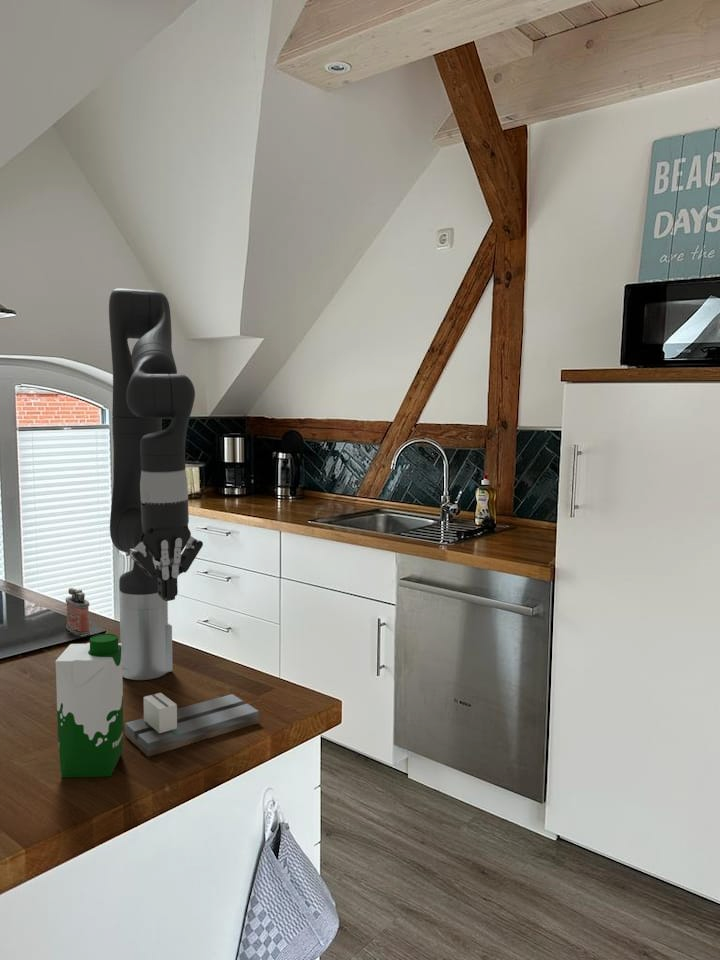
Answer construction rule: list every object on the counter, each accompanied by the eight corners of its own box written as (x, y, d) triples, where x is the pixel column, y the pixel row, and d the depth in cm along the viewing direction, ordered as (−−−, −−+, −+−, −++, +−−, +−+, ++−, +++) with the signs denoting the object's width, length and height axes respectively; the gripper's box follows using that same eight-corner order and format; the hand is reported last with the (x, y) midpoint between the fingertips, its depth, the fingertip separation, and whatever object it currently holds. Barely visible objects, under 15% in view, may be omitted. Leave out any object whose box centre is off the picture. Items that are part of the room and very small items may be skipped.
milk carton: (115, 779, 111) (113, 647, 108) (51, 781, 110) (48, 648, 108) (128, 751, 120) (126, 628, 117) (69, 752, 119) (66, 628, 116)
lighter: (93, 634, 175) (92, 592, 174) (79, 637, 173) (78, 594, 171) (76, 626, 180) (75, 585, 179) (63, 629, 178) (61, 587, 177)
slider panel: (232, 705, 137) (232, 693, 137) (258, 723, 130) (258, 710, 130) (125, 735, 125) (125, 722, 125) (148, 756, 118) (147, 742, 118)
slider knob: (161, 722, 127) (160, 692, 126) (177, 735, 122) (176, 704, 122) (144, 727, 125) (143, 696, 125) (159, 740, 121) (159, 708, 120)
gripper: (189, 490, 131) (192, 587, 133) (115, 498, 122) (120, 602, 125) (211, 495, 125) (214, 597, 128) (136, 505, 117) (140, 613, 119)
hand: (167, 599), depth 126 cm, fingers closed
